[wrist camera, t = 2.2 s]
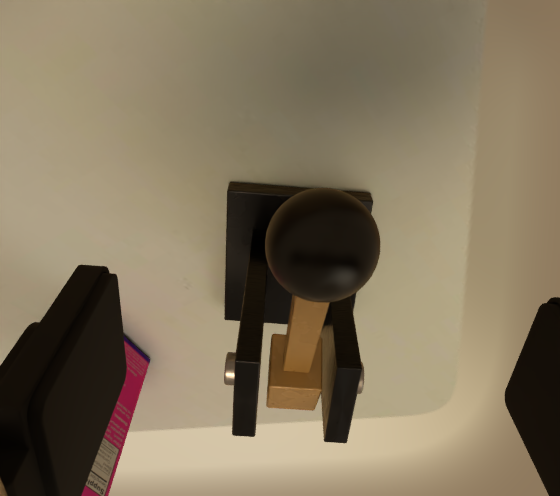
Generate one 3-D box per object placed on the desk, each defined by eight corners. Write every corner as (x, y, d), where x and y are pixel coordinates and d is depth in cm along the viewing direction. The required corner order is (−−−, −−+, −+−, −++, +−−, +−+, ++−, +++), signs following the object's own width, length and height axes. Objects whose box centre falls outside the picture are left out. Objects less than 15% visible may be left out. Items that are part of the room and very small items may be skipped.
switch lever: (271, 159, 14) (263, 258, 12) (387, 168, 14) (397, 267, 12) (259, 349, 25) (254, 416, 23) (325, 353, 25) (325, 420, 23)
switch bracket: (229, 181, 29) (195, 311, 19) (370, 192, 29) (412, 326, 19) (226, 308, 33) (197, 467, 23) (348, 317, 34) (372, 479, 23)
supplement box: (96, 392, 38) (27, 552, 28) (35, 341, 35) (-66, 496, 25) (155, 360, 36) (103, 518, 26) (95, 303, 33) (12, 454, 24)
